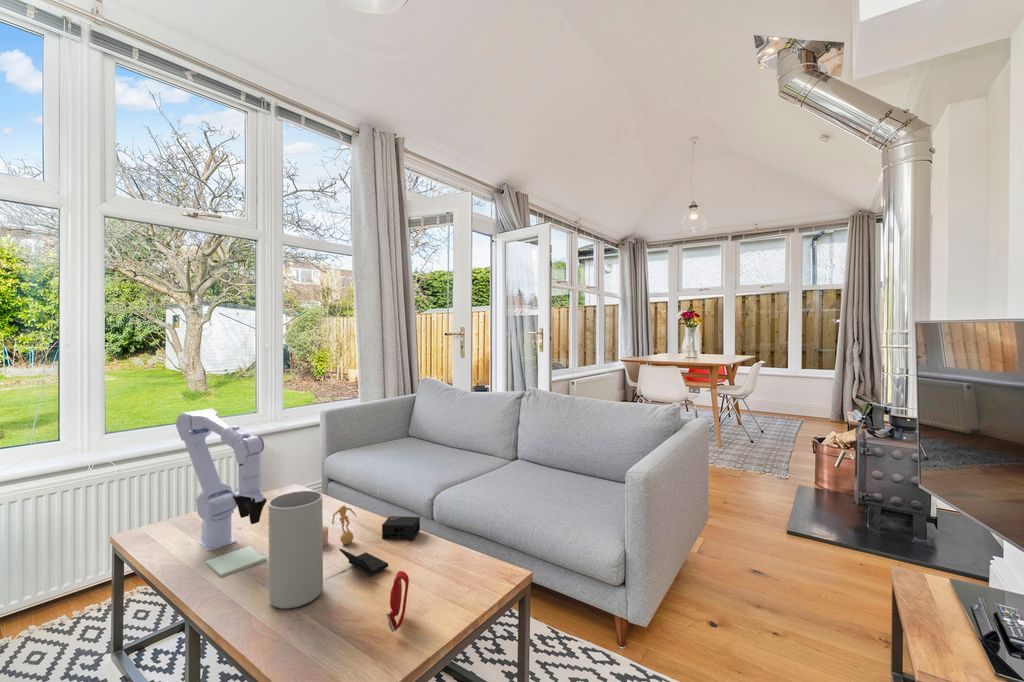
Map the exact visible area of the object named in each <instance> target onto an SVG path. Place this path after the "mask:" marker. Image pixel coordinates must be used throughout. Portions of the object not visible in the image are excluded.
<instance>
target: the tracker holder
mask: <svg viewBox="0 0 1024 682" xmlns="http://www.w3.org/2000/svg"><path fill="white" fill-rule="evenodd" d="M402 581H403V582H404V584H405V586H404V587H405V588H404V594H403V595H404V596H403V601H402V592H403V591H402V590H403V587H402V584H403V583H402ZM409 581H410V580H409V576H408V574H407V572H406V571H403V570H399V571H398V572H396V575H395V576H394V578H393V585H392V586H391V590H390V594H389V606H390V607H389V608H390V609H391V611H390V612H389V613H388V612H387V613H386V614H385V615H386V617H387V620H388V627H389V628H390V630H391V632H393V633H394V632H397V631H398V629H399V628H400V627H401V626H402V624H403V621H404V618H405V614H406V607H407V598H408V592H409V591H408V590H409V584H410V582H409ZM401 602H402V603H403V604H402V609H401ZM400 611H401V613H400ZM399 613H400V617H399V620H398V622H397V620H396V616H399Z"/></svg>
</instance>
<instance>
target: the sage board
mask: <svg viewBox="0 0 1024 682" xmlns="http://www.w3.org/2000/svg"><path fill="white" fill-rule="evenodd" d="M266 561H267V556H264V555H263V554H262V553H260V552H259V551H258V550H256V549H255V548H253V547H251V546H250V545H248V546H246V547H243V548H240V549H237V550H235V551H231V552H228V553H225V554H222V555H220V556H217V557H214V558H211V559H208V560H205V561H204V562H205V564H206V565H207V566H208V567H209V568H210V569H211V570H212V571H213V572H214V573H216V575H218V576H219V578H223V577H225V576H228V575H231V574H234V573H237V572H239V571H242V570H244V569H247V568H250V567H252V566H255V565H258V564H260V563H264V562H266Z"/></svg>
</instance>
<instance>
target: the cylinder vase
mask: <svg viewBox="0 0 1024 682" xmlns="http://www.w3.org/2000/svg"><path fill="white" fill-rule="evenodd" d="M323 520H324V519H323V493H321V492H319V491H316V490H298V491H292V492H287V493H283V494H280V495H277V496H275V497H273V498H272V499H269V501H268V600H269V603H270V604H271V606H273V607H275V608H277V609H293V608H298V607H301V606H304V605H306V604H308V603H311V602H313V601H315V599H317V598H318V597H319V595H321V593H322V591H323V589H324V566H323V565H324V559H323V558H324V557H323V556H324V555H323V552H324V547H323Z"/></svg>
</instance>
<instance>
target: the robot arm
mask: <svg viewBox="0 0 1024 682" xmlns="http://www.w3.org/2000/svg"><path fill="white" fill-rule="evenodd" d="M175 427H176V429H177V432H178V435H179V438H180V440H181V441H183V442H184V444H185V447H186V450H187V452H188V455H189V458H190V461H191V462H192V466H193V469H194V472H195V474H196V476H197V480H198V482H199V484H200V487H201V492H200V493H199V495H198V496H197V497H196V499H195V501H196V506H197V507H196V508H197V510H196V511H197V514H198V516H199V518H200V519H202V521H201V540H198V544H199V545H201V547H203V549H205V550H206V551H208V552H211V551H214V550H217V549H220V548H224V547H227V546H229V545H233V544H235V542H236V543H237V539H235V538H234V537H232V514H234V510H235V509H237V510H238V514H239V516H240V518H241V519H243V518H245V517H249V523H250V525H254V524H257V523H260V520H261V519H260V518H261V516H262V512H263V510H264V507H265V505H266V503H267V501H268V500H267V498H266V497H264V494H263V493H262V488H261V463H260V462H261V456H260V455H261V453H263V451H264V449H265V442H264V440H263V438H262V436H260V434H255V435H253V434H252V435H251V434H250V433H248V432H247V431H245V430H243V429H241V427H240V426H238V425H231V426H229V425H228V424H227V423H226V422H225V421H223V420H222V419H221V418H220V417H219V415H218V412H217V411H215V409H213V408H207V409H201V410H200V409H199V410H195V411H194V410H193V411H187V412H186V411H184V412H180V413H179V414H178V416H177V418H176V423H175ZM212 432H213V433H215V434H216V435H219V436H220V441H221V442H223V443H224V445H225V444H226V445H227V446H228V447H230V448H231V449H233V452H234V456H235V459H236V464H237V465H238V468H237V469H238V485H237V486H236V492H234V490H232V487H231V485H228V484H225V483H222V481H221V479H220V476H219V474H218V471H217V468H216V466H215V464H214V460H213V459H212V458H213V457H212V455H211V453H210V450H209V447H208V444H207V442H206V439H207V437H209V436H211V434H212ZM226 545H227V546H226ZM223 546H224V547H223Z"/></svg>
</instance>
